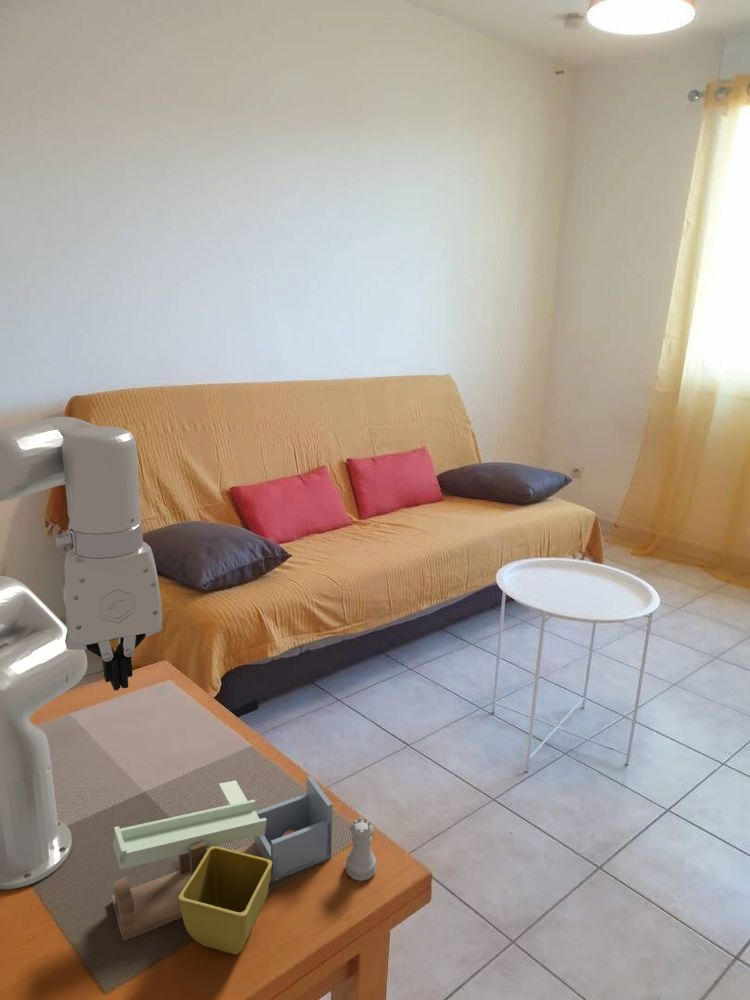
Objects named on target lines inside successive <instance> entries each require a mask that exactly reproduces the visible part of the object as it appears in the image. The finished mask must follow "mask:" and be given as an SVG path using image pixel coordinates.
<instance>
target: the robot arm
mask: <svg viewBox="0 0 750 1000" xmlns="http://www.w3.org/2000/svg"><path fill="white" fill-rule="evenodd" d="M64 485H65V493H66V505H67V515H68V525H67V526H68V529H66V532H63V533H62V534H57V535H55V543H56V546H57V548H62V547H64V548H68V549H69V550H67V552H66V554H65V559H64V566H63V567H64V568H63V583H62V584H63V586H62V587H63V612H64V613H63V615H64V621H65V623H64V622H63V621H62V619H60V618H59V616H57V615H56V614H55V612H53V611H52V609H50V608H49V606H47V605H46V604H45V603H44V602H43V601H42V600H41V598H40V597H39V596H37V595H36V593H34V591H33V590H32V589H30V588H29V587H28V586H27V585H26V584H25V583H23V582H21V581H20V580H18V579H15V578H13V577H10V576H5V575H0V646H2V645H4V644H6V645H5V646H3V647H1V648H0V890H13V889H17V888H18V889H19V888H23V887H26V886H29V885H32V884H35V883H37V882H39V881H42V880H43V879H44V878H46V877H48V876H49V875H51V874H53V872H55V871H56V870H57V869H58V868H60V866H61V865H62V864H63V863H65V861H66V859H67V858H68V856H69V854H70V852H71V849H72V845H73V840H72V833H71V830H70V828H69V827H68V825H66V824H65V823H64V822H63V821H60V820H59V819H58V813H57V804H56V793H55V785H54V777H53V770H52V769H53V768H52V761H51V751H50V745H49V740H48V737H47V735H46V733H45V732H44V730H43V729H42V728H40V727H39V726H38V725H36V724H35V723H33V722H32V721H31V718H32V715H34V713H35V712H36V711H38V710H40V709H41V708H44V706H45V705H46V704H48V703H50V702H51V701H53V700H55V699H56V698H58V697H59V696H61V695H62V694H64V693H66V692H67V691H68V690H70V689H71V688H73V687H74V686H76V685H77V684H78V683H79V682H80V681H81V680H82V679H83V678H84V676H85V675H86V672H87V668H88V658H87V657H88V656H87V654H86V653H87V652H86V651H85V650H88V651H89V652H91V653H93V654H95V655H96V656H98V657H100V658H101V659H102V669H103V678H104V681H105V683H110V684H111V687H112V688H113V692H114V691H115V692H116V691H119V690H120V689H128V688H129V678H131V677H133V664H132V656H133V655H134V654H135V650H136V649H137V647H138V646H140V644H141V643H142V642H143V640H144V639H145V638H146V637H150V636H152V635H154V634H157V633H159V632H161V631H162V630H163V624H162V622H163V608H162V607H163V606H162V599H161V591H160V585H159V578H158V572H157V567H156V561H155V558H154V553H153V550H152V547H151V546H150V545H149V544H148V543H146V541H144V538H143V537H144V536H143V523H142V521H143V520H142V509H141V508H142V506H141V494H140V493H141V492H140V491H141V490H140V477H139V461H138V446H137V440H136V438H135V435H134V434H133V433H132V432H131V431H129V430H128V429H126V428H122V427H119V426H111V425H109V426H108V425H107V426H105V425H101V426H100V425H99V426H98V425H96V424H92V423H90V422H87V421H85V420H83V419H80V418H78V417H72V416H57V417H55V416H54V417H51V418H45V419H41V420H40V419H39V420H34V421H29V422H23V423H18V424H12V425H8V426H3V427H0V502H7V501H11V500H16V499H19V498H22V497H25V496H29V495H32V494H35V493H38V492H42V491H45V490H48V489H51V488H56V487H60V486H64ZM113 640H118V644H117V646H116V647H115V650H114V648H113V647H112V645H111V641H113Z"/></svg>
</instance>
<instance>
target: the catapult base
mask: <svg viewBox="0 0 750 1000" xmlns="http://www.w3.org/2000/svg"><path fill="white" fill-rule="evenodd" d="M190 813H193V812H192V811H190V812H186V813H183V814H182V815H185V814H190ZM189 848H190V853H186V854H182V855H178V865H179V870H177V871H174V872H172V873H169V874H167V875H163V876H162V877H159V878H156V879H152V880H150V881H148V882H145V883H142V884H139V885H137V886H134V887H132V888H130V885H129V881H128V879H127V877H123V878H121V879H118V880H115V881H113V890H114V891H113V893H114V894H112V895H111V902H112V906H113V910H114V914H115V916H116V917H115V918H116V920H117V924H118V927H119V932H120V934H121V939H122V942H125V941H128V940H130V939H132V938H135V937H138V936H140V935H142V934H145V933H147V932H150V931H152V930H155V929H157V928H159V927H162V926H165V925H167V924H170V923H172V922H175V921H177V920H179V918H180V919H182V918H183V917H182V912H181V908H180V903H179V899H178V897H179V895H180V893H181V891H182V890H183V889H184V887H185V885H186V884H187V882H188V881H189V879H190V878H191V876H192V875H193V873H194V872H195V870H196V869H197V867H198V865H199V864H200V862H201V860H202V859H203V857H204V855H205V854H206V852H207V850H208V848H207V845H206V842H205V841H203V842H200V843H197V844H194V845H192V846H189ZM232 850H233V851H237V852H241V853H245V854H249V855H253V856H257V857H262V858H263V856H262V855H261V853H260V851H259V849H258V847H257V846H256V844H255V842H252V843H250V844H247V845H245V846H242V847H239V848H236V849H232ZM271 882H274V881H273V875H272V873H271V875H270V882H269V883H271ZM181 917H182V918H181ZM174 920H175V921H174ZM169 922H170V923H169Z"/></svg>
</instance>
